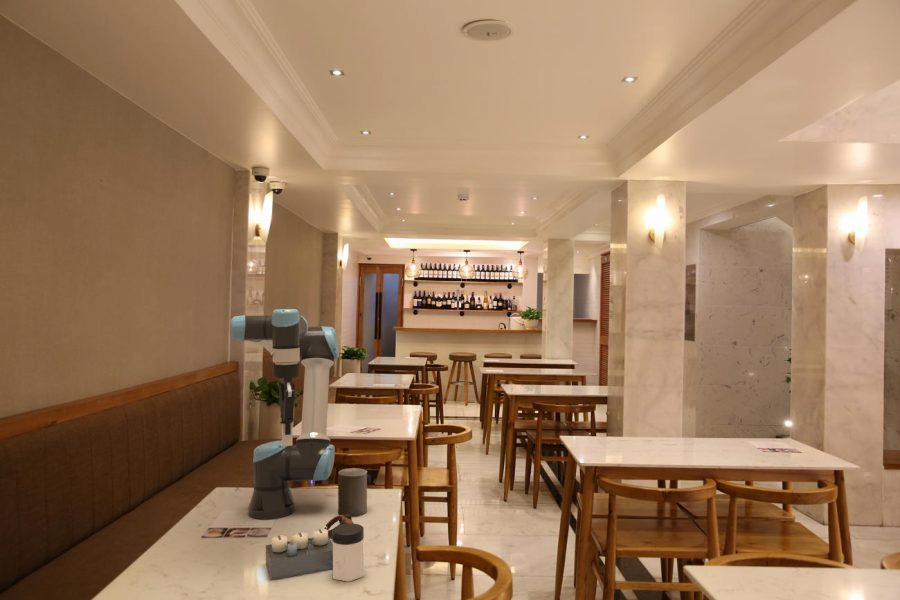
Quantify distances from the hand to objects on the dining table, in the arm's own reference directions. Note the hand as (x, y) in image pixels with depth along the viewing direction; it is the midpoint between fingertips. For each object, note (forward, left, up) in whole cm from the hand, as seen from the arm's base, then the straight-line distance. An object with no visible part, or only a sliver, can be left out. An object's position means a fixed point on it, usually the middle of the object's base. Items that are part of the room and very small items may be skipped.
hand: (287, 445), depth 180 cm
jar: (+22, +12, -31) cm, 40 cm away
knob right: (+11, +7, -30) cm, 33 cm away
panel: (+12, +2, -30) cm, 33 cm away
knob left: (+11, -4, -30) cm, 32 cm away
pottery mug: (-2, +16, -31) cm, 35 cm away
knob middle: (+11, +2, -30) cm, 32 cm away
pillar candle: (-24, +25, -31) cm, 46 cm away
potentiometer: (+15, -1, -25) cm, 30 cm away
